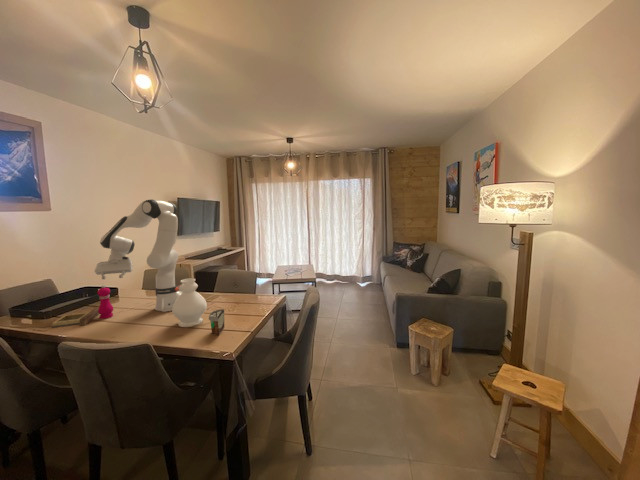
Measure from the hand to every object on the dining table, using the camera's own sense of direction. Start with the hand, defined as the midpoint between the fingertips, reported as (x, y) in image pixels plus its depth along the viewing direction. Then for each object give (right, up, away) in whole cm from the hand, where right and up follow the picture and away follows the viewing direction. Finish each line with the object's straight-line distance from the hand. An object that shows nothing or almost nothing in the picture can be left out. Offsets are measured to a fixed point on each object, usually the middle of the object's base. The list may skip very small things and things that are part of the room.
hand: (112, 278), depth 170 cm
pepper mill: (+5, -23, -10) cm, 25 cm away
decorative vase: (+62, -23, -20) cm, 69 cm away
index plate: (-11, -23, -16) cm, 30 cm away
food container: (+81, -24, -32) cm, 91 cm away
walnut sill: (-2, -23, -13) cm, 26 cm away
